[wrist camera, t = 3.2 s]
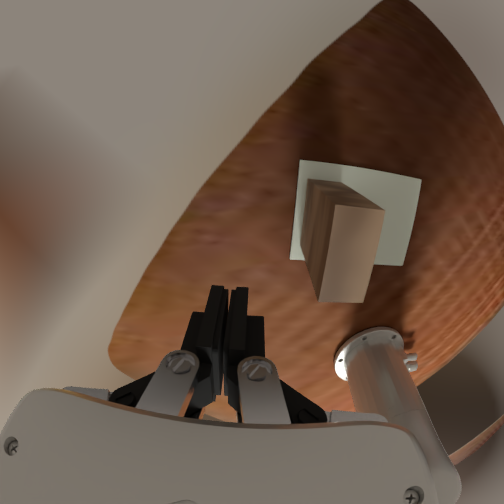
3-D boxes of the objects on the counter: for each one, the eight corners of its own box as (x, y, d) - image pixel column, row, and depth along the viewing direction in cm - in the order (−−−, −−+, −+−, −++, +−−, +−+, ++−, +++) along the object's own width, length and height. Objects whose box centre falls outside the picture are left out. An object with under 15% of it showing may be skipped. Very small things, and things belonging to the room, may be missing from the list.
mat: (419, 179, 28) (421, 179, 28) (400, 264, 33) (402, 265, 33) (299, 159, 29) (300, 159, 28) (289, 257, 33) (289, 259, 33)
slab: (342, 182, 29) (387, 210, 18) (332, 247, 32) (364, 302, 21) (307, 178, 29) (335, 204, 18) (299, 244, 32) (318, 301, 21)
